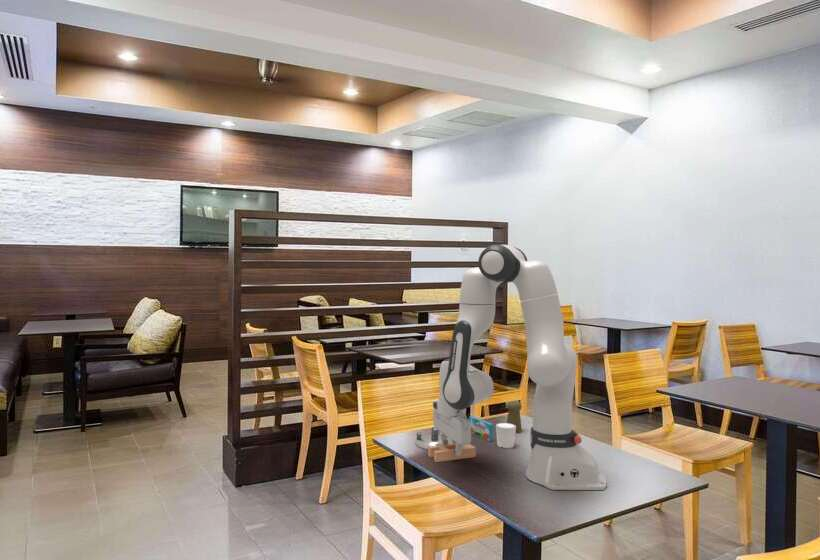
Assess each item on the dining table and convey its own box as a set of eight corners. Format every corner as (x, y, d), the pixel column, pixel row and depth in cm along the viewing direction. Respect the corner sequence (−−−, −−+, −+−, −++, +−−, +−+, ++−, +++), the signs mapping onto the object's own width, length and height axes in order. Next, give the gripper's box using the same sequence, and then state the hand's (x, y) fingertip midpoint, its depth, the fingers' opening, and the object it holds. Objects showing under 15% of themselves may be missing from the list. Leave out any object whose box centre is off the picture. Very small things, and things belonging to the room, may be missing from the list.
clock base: (455, 439, 197) (455, 424, 197) (451, 451, 185) (452, 435, 185) (418, 437, 200) (419, 422, 200) (412, 449, 187) (413, 432, 187)
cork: (523, 433, 206) (523, 403, 206) (506, 433, 206) (507, 403, 206) (520, 428, 212) (520, 399, 212) (504, 428, 212) (505, 399, 212)
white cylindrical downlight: (511, 450, 187) (511, 429, 187) (492, 446, 191) (492, 426, 191) (518, 444, 193) (519, 424, 193) (500, 441, 197) (500, 421, 197)
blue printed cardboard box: (492, 441, 197) (492, 423, 197) (489, 441, 196) (489, 424, 196) (471, 432, 207) (471, 415, 207) (468, 432, 206) (468, 416, 206)
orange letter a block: (466, 451, 186) (467, 442, 185) (475, 456, 180) (475, 447, 180) (428, 455, 180) (428, 446, 180) (436, 462, 175) (436, 452, 175)
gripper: (476, 415, 171) (475, 459, 172) (447, 399, 190) (446, 439, 191) (458, 416, 169) (457, 462, 169) (430, 400, 188) (429, 441, 188)
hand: (451, 450), depth 180 cm, fingers open, 8 cm apart
